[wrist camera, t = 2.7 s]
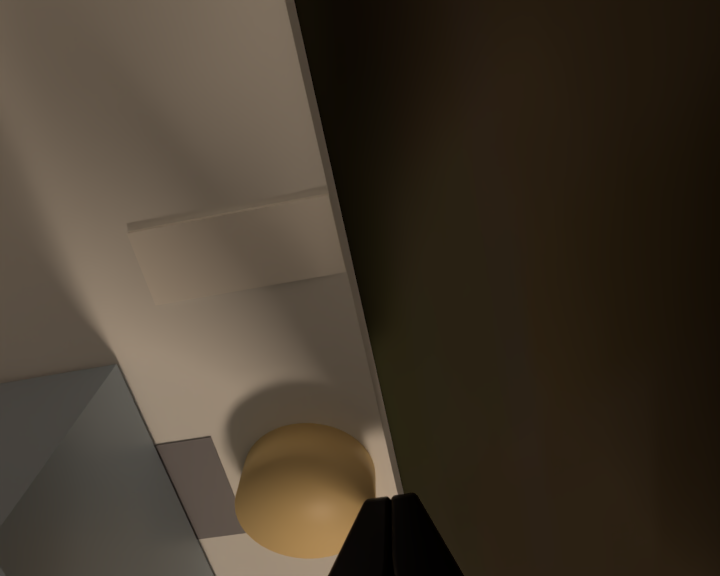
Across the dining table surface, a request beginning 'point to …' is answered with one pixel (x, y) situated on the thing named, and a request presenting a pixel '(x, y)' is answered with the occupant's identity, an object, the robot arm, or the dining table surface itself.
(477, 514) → the dining table surface
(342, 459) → the panel
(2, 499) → the breaker toggle
